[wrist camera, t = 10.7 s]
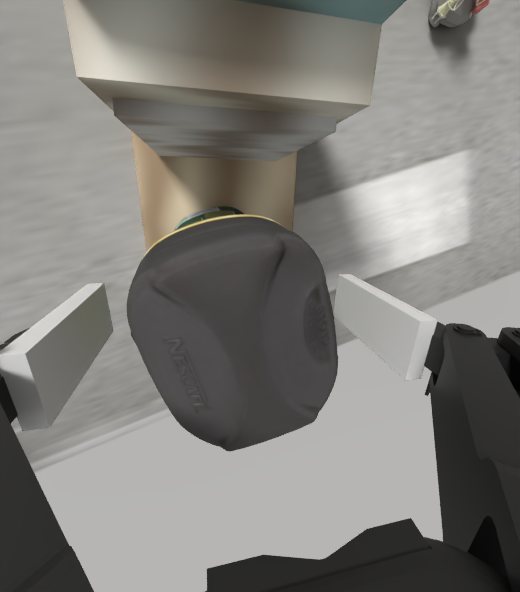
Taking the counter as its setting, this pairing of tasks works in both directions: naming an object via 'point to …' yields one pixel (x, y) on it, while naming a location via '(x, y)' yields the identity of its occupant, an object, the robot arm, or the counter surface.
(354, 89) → the shelf
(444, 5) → the figurine
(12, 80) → the counter surface
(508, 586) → the robot arm
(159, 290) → the coffee jar
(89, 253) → the counter surface
